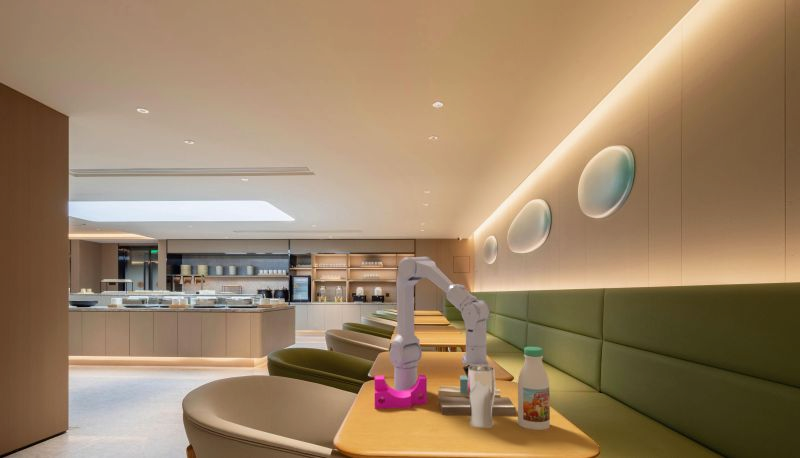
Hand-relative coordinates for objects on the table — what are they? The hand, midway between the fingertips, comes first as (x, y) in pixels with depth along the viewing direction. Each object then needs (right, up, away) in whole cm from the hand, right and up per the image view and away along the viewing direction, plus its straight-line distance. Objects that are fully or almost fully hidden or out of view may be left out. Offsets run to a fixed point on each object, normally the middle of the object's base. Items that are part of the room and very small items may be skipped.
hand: (476, 393), depth 130 cm
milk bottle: (+13, -4, -13) cm, 18 cm away
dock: (0, -4, 0) cm, 4 cm away
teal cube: (-1, -2, +7) cm, 8 cm away
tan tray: (-1, -5, +8) cm, 10 cm away
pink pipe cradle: (-21, -5, +4) cm, 22 cm away
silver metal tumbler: (-1, -4, -13) cm, 13 cm away
